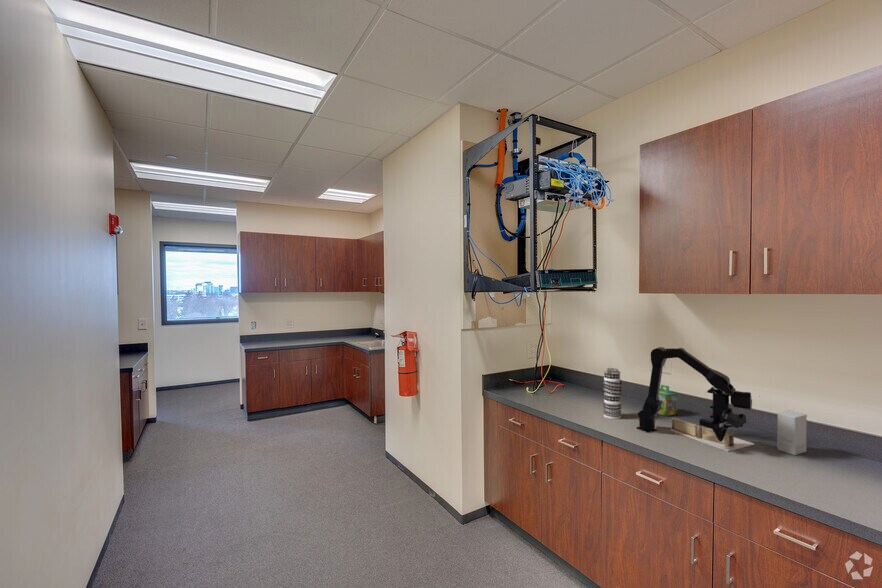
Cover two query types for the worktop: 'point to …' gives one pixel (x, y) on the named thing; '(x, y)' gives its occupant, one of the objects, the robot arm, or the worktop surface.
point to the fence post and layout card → (697, 434)
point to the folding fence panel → (711, 436)
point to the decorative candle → (612, 393)
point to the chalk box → (667, 401)
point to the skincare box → (791, 432)
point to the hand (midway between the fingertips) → (720, 441)
